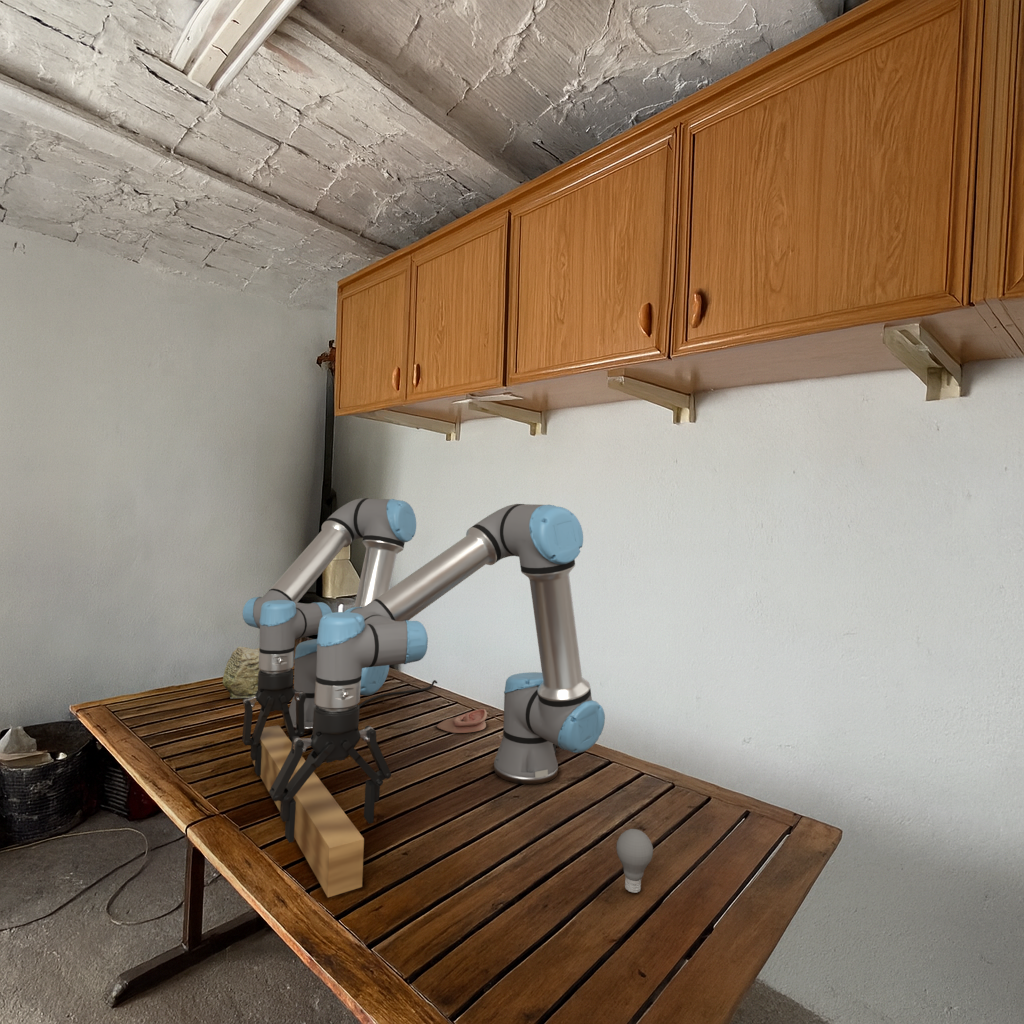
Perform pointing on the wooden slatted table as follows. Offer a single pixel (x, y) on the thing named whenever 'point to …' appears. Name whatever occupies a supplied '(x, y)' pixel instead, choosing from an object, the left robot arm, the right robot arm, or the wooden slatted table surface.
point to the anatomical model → (465, 722)
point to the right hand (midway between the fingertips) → (330, 829)
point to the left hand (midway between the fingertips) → (272, 770)
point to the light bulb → (634, 857)
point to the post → (316, 821)
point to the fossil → (242, 673)
